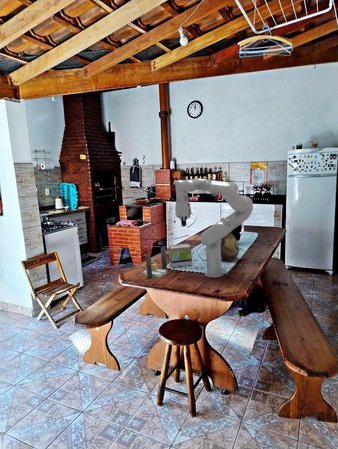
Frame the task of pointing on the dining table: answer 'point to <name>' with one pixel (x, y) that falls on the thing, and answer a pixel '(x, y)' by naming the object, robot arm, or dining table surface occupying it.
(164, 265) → the post right
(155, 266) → the toggle amber
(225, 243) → the ceramic jug
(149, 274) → the post left
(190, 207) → the robot arm
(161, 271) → the panel
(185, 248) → the tea box
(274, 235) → the dining table surface
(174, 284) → the dining table surface
